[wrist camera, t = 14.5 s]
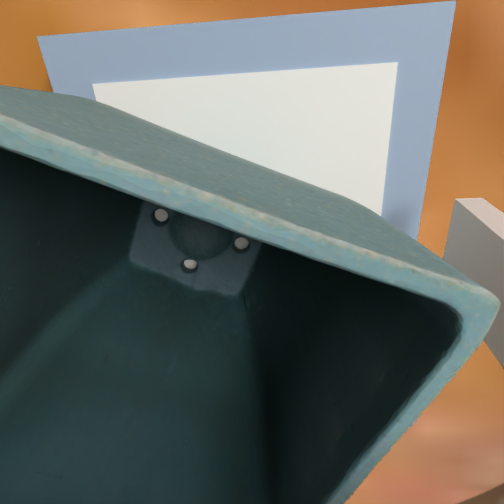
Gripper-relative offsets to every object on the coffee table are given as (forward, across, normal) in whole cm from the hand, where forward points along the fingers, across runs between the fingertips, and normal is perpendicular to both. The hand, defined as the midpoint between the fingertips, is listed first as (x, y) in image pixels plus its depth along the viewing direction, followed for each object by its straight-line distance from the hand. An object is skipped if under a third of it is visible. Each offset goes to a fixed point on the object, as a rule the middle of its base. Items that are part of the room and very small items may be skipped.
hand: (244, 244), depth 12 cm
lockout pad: (+4, 0, 0) cm, 4 cm away
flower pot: (+2, -2, 0) cm, 3 cm away
